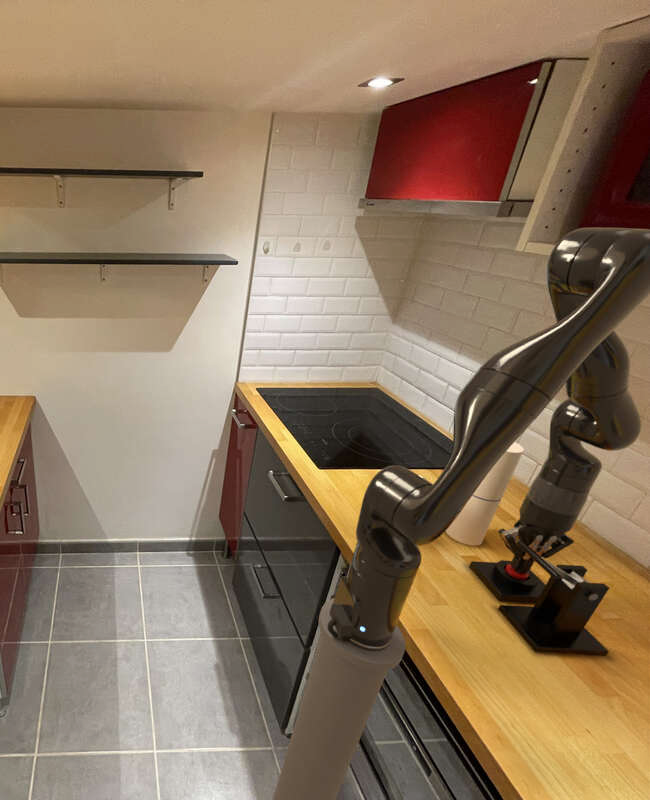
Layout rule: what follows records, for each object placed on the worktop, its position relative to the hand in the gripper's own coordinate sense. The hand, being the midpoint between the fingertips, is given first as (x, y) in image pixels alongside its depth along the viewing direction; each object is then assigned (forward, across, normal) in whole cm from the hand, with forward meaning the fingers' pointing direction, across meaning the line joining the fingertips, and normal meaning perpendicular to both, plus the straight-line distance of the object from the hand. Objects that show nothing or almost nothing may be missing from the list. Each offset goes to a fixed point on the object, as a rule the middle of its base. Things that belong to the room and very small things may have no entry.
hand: (518, 570), depth 91 cm
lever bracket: (+4, +1, +11) cm, 12 cm away
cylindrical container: (+4, 0, -15) cm, 16 cm away
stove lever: (-9, +6, +11) cm, 15 cm away
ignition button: (+2, 0, 0) cm, 2 cm away
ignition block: (+4, 0, 0) cm, 4 cm away
